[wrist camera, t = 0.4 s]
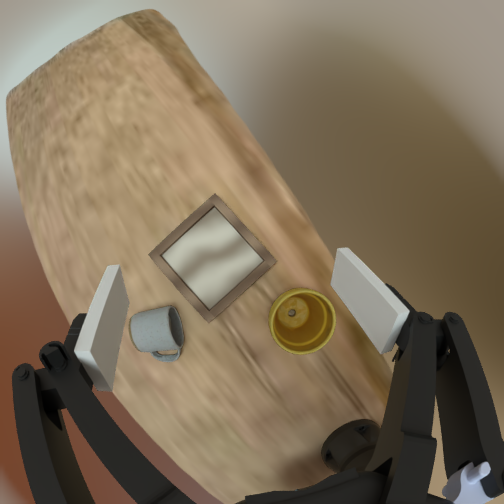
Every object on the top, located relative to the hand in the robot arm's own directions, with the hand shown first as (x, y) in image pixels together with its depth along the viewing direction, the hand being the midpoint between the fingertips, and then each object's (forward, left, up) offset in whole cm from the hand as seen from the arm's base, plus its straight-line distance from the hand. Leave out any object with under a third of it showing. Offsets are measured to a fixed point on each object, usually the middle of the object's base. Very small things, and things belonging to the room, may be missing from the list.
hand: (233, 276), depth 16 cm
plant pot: (-13, -2, -34) cm, 36 cm away
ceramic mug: (0, +18, -34) cm, 38 cm away
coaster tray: (+4, +2, -33) cm, 34 cm away
